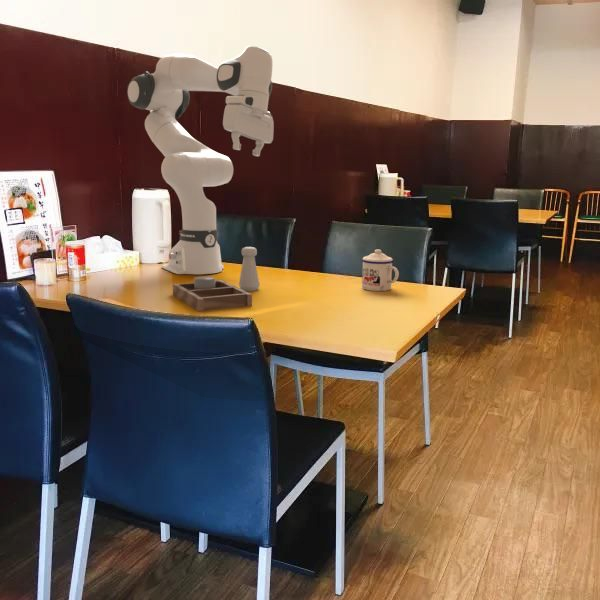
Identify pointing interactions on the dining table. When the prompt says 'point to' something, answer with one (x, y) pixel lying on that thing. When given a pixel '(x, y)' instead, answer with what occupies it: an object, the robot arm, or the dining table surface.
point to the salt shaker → (249, 270)
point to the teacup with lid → (378, 272)
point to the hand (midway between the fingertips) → (246, 152)
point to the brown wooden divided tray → (213, 296)
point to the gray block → (204, 282)
